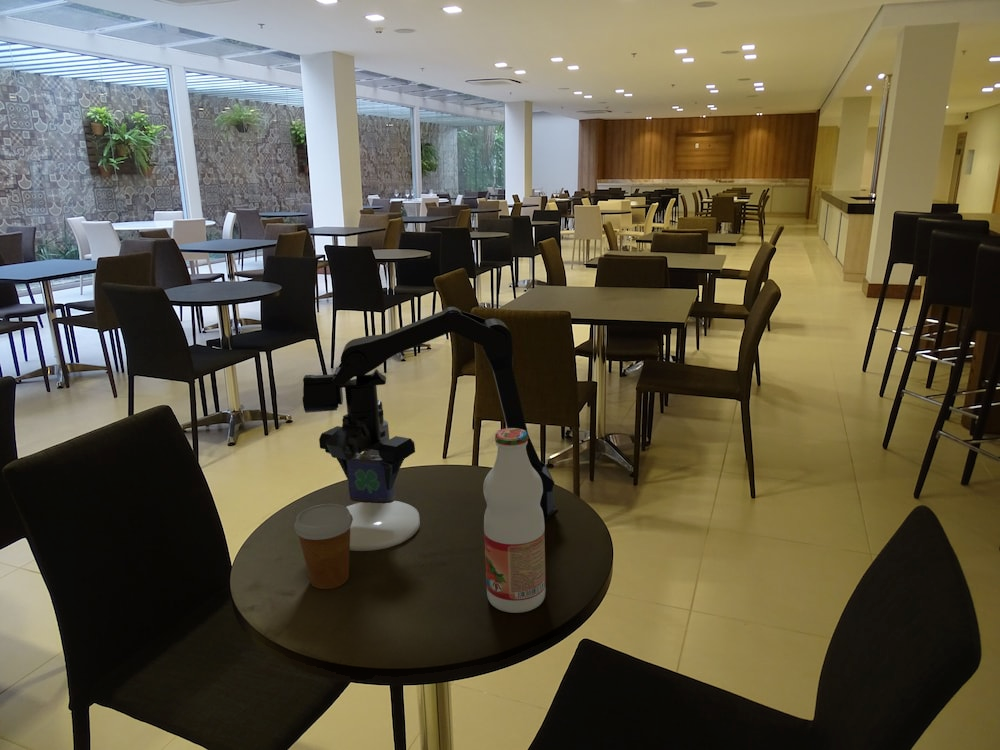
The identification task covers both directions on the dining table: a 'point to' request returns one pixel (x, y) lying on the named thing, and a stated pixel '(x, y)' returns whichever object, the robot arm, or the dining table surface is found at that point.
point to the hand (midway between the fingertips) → (370, 485)
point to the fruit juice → (514, 527)
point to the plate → (381, 525)
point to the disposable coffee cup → (325, 543)
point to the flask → (368, 479)
